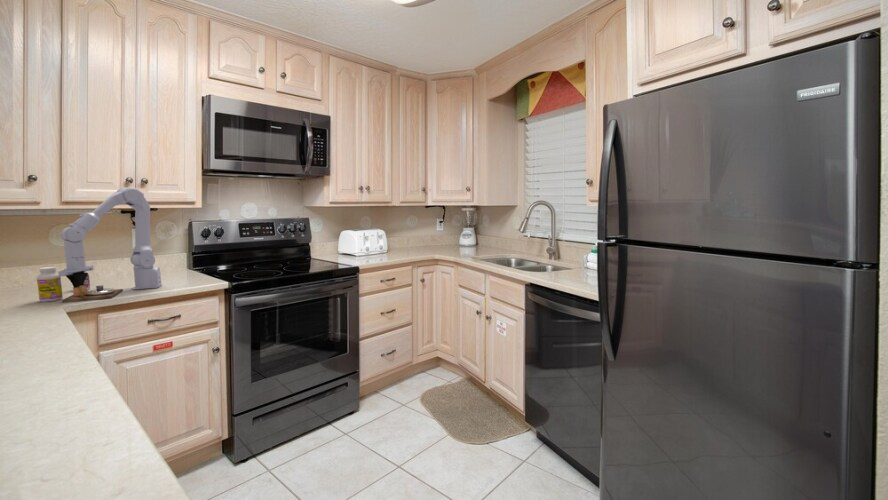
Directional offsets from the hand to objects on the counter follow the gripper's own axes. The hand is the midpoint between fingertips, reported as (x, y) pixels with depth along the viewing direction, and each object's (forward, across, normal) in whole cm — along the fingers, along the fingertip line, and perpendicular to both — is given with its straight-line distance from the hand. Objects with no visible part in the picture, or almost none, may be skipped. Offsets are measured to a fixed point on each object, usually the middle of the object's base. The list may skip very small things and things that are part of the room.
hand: (78, 291), depth 164 cm
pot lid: (+1, -1, +5) cm, 5 cm away
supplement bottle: (+3, +4, -8) cm, 9 cm away
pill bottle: (+3, -15, -11) cm, 19 cm away
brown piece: (+3, -1, +5) cm, 6 cm away
